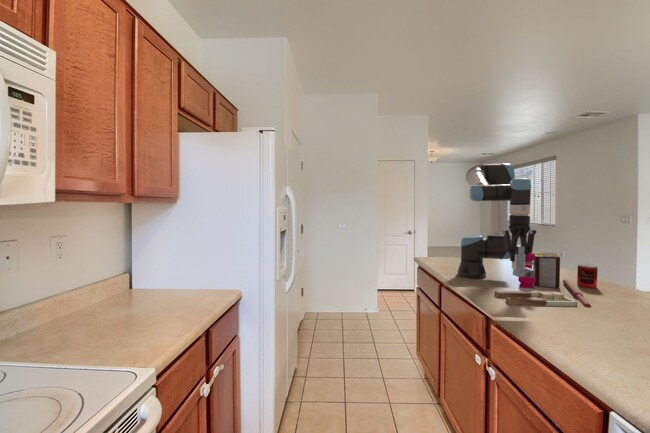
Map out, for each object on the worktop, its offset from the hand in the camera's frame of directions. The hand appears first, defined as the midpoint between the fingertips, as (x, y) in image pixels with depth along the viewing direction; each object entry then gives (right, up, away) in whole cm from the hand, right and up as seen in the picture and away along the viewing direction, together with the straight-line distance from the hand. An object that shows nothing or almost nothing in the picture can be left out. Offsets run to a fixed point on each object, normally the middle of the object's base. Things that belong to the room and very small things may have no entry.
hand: (518, 268), depth 136 cm
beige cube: (+9, -14, -3) cm, 17 cm away
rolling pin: (+31, -14, +8) cm, 35 cm away
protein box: (+32, -13, +28) cm, 44 cm away
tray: (+12, -14, -4) cm, 19 cm away
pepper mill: (+16, -13, +19) cm, 28 cm away
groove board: (-1, -14, -3) cm, 14 cm away
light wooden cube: (+14, -14, -4) cm, 20 cm away
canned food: (+48, -13, +22) cm, 55 cm away
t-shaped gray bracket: (+2, -3, 0) cm, 4 cm away
